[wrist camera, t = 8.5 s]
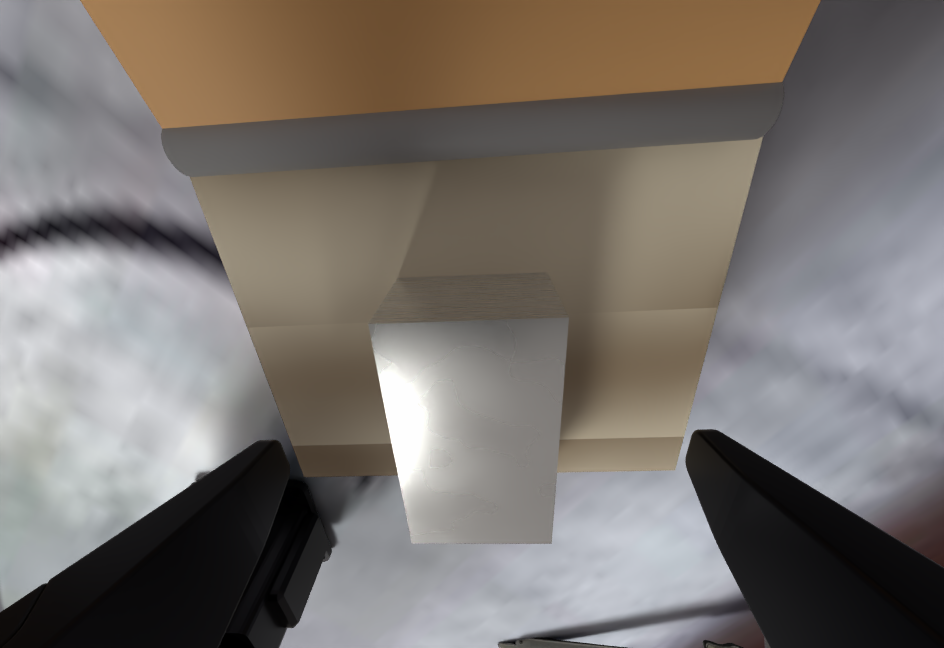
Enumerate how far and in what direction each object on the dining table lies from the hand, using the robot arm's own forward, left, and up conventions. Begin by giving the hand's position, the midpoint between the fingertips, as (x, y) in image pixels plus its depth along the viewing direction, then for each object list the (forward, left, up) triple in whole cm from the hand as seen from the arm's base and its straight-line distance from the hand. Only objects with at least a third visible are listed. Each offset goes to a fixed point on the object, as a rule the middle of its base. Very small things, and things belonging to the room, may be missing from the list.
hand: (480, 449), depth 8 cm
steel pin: (0, 0, -7) cm, 7 cm away
